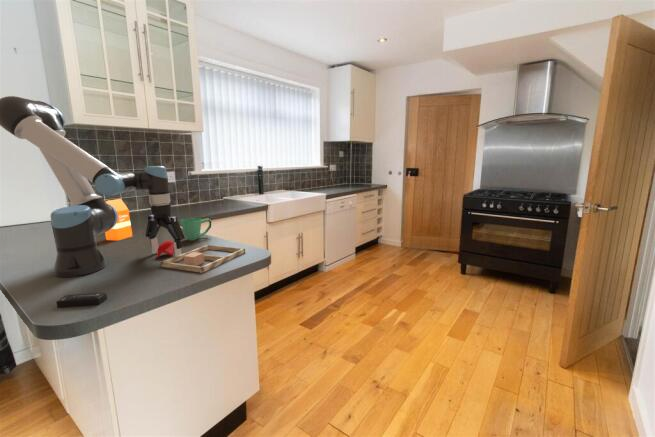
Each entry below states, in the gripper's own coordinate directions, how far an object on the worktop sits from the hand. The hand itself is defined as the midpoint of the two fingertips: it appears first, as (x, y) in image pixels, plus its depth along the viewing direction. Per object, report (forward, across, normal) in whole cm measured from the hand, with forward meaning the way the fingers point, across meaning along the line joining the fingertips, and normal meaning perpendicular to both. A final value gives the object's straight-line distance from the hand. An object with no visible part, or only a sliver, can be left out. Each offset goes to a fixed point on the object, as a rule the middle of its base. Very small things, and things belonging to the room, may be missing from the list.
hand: (167, 254), depth 134 cm
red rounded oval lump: (+1, 0, 0) cm, 1 cm away
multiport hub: (+1, -14, +42) cm, 44 cm away
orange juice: (0, +49, -14) cm, 51 cm away
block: (0, -20, +5) cm, 21 cm away
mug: (0, +8, -26) cm, 27 cm away
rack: (0, -20, -1) cm, 20 cm away
